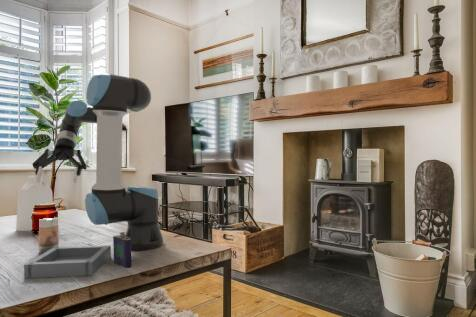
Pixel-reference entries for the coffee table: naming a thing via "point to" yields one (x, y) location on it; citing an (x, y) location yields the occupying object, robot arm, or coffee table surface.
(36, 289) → the coffee table surface
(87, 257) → the tray
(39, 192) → the milk
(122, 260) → the flask
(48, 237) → the glass with pinkish-brown filling
